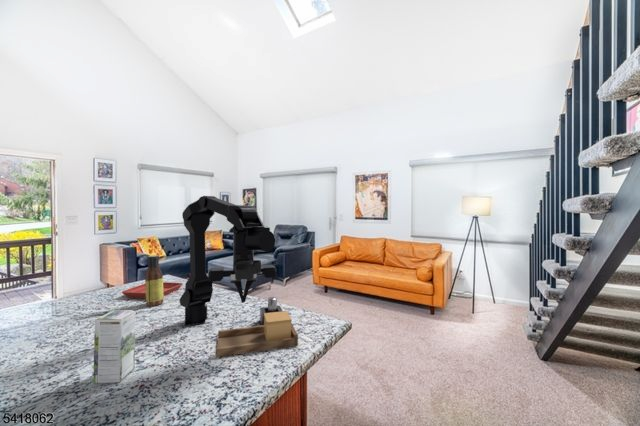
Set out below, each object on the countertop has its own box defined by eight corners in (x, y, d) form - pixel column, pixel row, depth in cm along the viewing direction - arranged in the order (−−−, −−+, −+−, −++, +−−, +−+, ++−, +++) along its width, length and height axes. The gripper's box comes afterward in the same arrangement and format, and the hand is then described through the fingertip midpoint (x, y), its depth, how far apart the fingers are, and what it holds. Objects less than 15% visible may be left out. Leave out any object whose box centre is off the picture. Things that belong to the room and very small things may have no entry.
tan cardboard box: (266, 343, 80) (266, 322, 80) (263, 332, 87) (263, 313, 87) (291, 340, 82) (291, 319, 82) (286, 329, 89) (286, 310, 89)
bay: (216, 357, 73) (216, 345, 73) (218, 337, 85) (218, 327, 85) (297, 345, 80) (297, 334, 80) (289, 328, 92) (289, 319, 92)
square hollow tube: (262, 328, 91) (262, 314, 91) (260, 320, 98) (260, 307, 98) (283, 325, 93) (283, 312, 93) (279, 318, 100) (279, 305, 100)
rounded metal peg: (269, 321, 93) (270, 300, 93) (265, 317, 96) (266, 297, 96) (277, 319, 95) (278, 299, 95) (273, 316, 98) (274, 296, 98)
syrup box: (110, 369, 67) (110, 309, 67) (135, 368, 68) (136, 309, 68) (92, 384, 61) (93, 319, 61) (121, 383, 62) (121, 318, 62)
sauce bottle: (166, 302, 117) (167, 254, 116) (156, 307, 110) (156, 257, 110) (152, 301, 117) (152, 254, 117) (141, 306, 111) (141, 256, 111)
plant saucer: (149, 287, 139) (149, 281, 139) (184, 289, 137) (184, 282, 137) (120, 299, 121) (120, 291, 121) (159, 301, 119) (159, 293, 119)
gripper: (206, 254, 70) (206, 315, 71) (280, 251, 76) (279, 308, 76) (209, 248, 81) (209, 301, 81) (274, 246, 87) (273, 296, 87)
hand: (243, 302), depth 81 cm, fingers closed
